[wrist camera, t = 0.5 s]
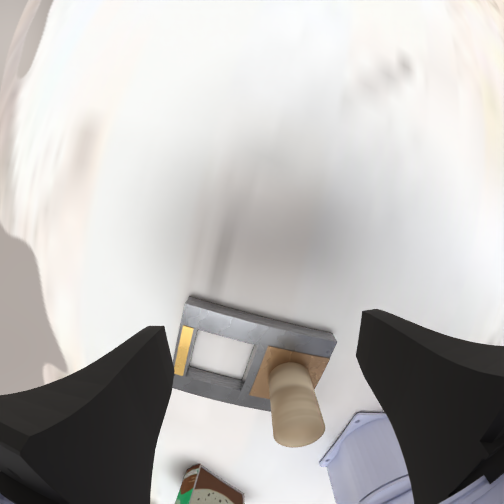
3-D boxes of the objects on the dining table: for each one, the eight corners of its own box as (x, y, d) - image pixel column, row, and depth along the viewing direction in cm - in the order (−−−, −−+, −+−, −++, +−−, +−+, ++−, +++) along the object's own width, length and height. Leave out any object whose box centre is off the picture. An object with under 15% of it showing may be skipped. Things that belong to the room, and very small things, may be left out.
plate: (297, 405, 22) (299, 416, 21) (172, 376, 22) (168, 387, 20) (332, 333, 21) (337, 342, 19) (189, 296, 20) (184, 303, 19)
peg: (300, 396, 20) (312, 448, 14) (263, 389, 20) (266, 444, 14) (315, 366, 20) (333, 418, 14) (276, 358, 19) (284, 412, 14)
